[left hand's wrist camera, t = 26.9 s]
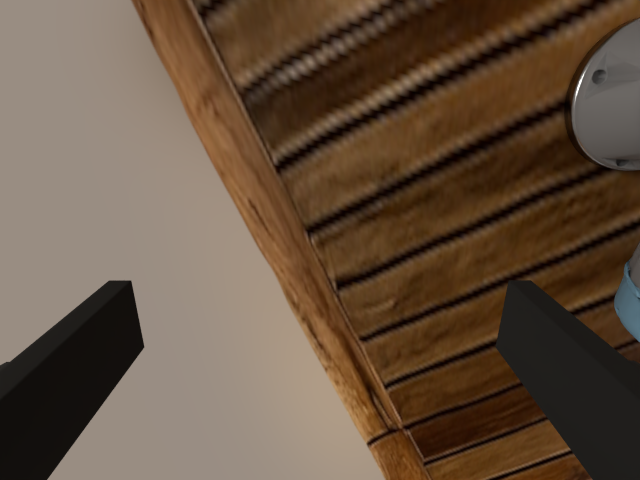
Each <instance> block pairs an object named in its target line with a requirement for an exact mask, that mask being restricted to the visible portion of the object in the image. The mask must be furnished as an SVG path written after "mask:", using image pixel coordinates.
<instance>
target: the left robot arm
mask: <svg viewBox="0 0 640 480" xmlns="http://www.w3.org/2000/svg"><path fill="white" fill-rule="evenodd" d="M565 124H566V129H567V133H568V136H569V138H570V140H571V142H572V144H573V146H574V147H575V148H576V150H577V151H578V152H579V153H580V154H581V155H582V156H583V157H584V158H586V159H587V160H589V161H590V162H592V163H594V164H597V165H599V166H603V167H607V168H612V169H617V170H629V171H631V170H640V17H639V18H636V19H633V20H631V21H628V22H626V23H624V24H622V25H620V26H618V27H617V28H615V29H614V30H612V31H611V32H609V33H608V34H607V35H605V36H604V37H603V38H602V39H601V40H600V41H598V42H597V43H596V44H595V45H594V47H593V48H592V49H591V50H590V51H589V52H588V53H587V55H586V56H585V57H584V59H583V60H582V62H581V63H580V65H579V66H578V68H577V70H576V72H575V74H574V76H573V78H572V81H571V83H570V86H569V89H568V92H567V97H566V102H565ZM614 306H615V310H616V312H617V315H618V316H619V318H620V320H621V322H622V324H623V325H624V327H625V328H626V329H627V330H628V331H629V332H630V333H631V334H632V335H633V336H634V337H635V338H636V339H637V340H638V341H639V342H640V242H639V244H638V246H637V248H636V250H635V252H634V254H633V255H632V257H631V259H630V260H629V261H628V262H627V263H626V264H625V267H624V276H623V279H622V281H621V284H620V286H619V288H618V291H617V293H616V295H615V300H614ZM143 348H144V343H143V338H142V333H141V328H140V323H139V318H138V313H137V308H136V303H135V297H134V293H133V287H132V282H131V281H108V282H107V283H106V284H104V285H103V286H102V287H101V288H100V289H98V290H97V291H96V292H95V293H93V294H92V295H91V296H90V297H89V298H87V299H86V300H85V301H84V302H82V303H81V304H80V305H79V306H78V307H76V308H75V309H74V310H73V311H71V312H70V313H69V314H68V315H67V316H65V317H64V318H63V319H62V320H61V321H59V322H58V323H57V324H56V325H54V326H53V327H52V328H51V329H50V330H48V331H47V332H46V333H45V334H43V335H42V336H41V337H40V338H39V339H37V340H36V341H35V342H34V343H33V344H31V345H30V346H29V347H28V348H26V349H25V350H24V351H23V352H22V353H20V354H19V355H18V356H17V357H15V358H14V359H13V360H12V361H11V362H6V363H4V364H2V365H0V480H47V479H48V478H49V476H50V475H51V474H52V472H53V471H54V470H55V468H56V467H57V465H58V464H59V463H60V461H61V460H62V459H63V457H64V456H65V455H66V453H67V452H68V450H69V449H70V448H71V446H72V445H73V444H74V442H75V441H76V440H77V438H78V437H79V435H80V434H81V433H82V431H83V430H84V429H85V427H86V426H87V425H88V423H89V422H90V420H91V419H92V418H93V416H94V415H95V414H96V412H97V411H98V410H99V408H100V407H101V405H102V404H103V403H104V401H105V400H106V399H107V397H108V396H109V395H110V393H111V392H112V390H113V389H114V388H115V386H116V385H117V384H118V382H119V381H120V380H121V378H122V377H123V375H124V374H125V373H126V371H127V370H128V369H129V367H130V366H131V365H132V363H133V362H134V361H135V359H136V358H137V356H138V355H139V354H140V352H141V351H142V350H143ZM496 348H497V350H498V351H499V352H500V354H501V355H502V356H503V358H504V359H505V361H506V362H507V363H508V365H509V366H510V367H511V369H512V370H513V371H514V373H515V374H516V376H517V377H518V378H519V380H520V381H521V382H522V384H523V385H524V386H525V388H526V389H527V390H528V392H529V393H530V395H531V396H532V397H533V399H534V400H535V401H536V403H537V404H538V405H539V407H540V408H541V410H542V411H543V412H544V414H545V415H546V416H547V418H548V419H549V420H550V422H551V423H552V425H553V426H554V427H555V429H556V430H557V431H558V433H559V434H560V435H561V437H562V438H563V440H564V441H565V442H566V444H567V445H568V446H569V448H570V449H571V450H572V452H573V453H574V455H575V456H576V457H577V459H578V460H579V461H580V463H581V464H582V465H583V467H584V468H585V470H586V471H587V472H588V474H589V475H590V476H591V478H592V479H593V480H640V364H639V363H637V362H635V361H628V360H627V359H626V358H625V357H623V356H622V355H621V354H620V353H619V352H617V351H616V350H615V349H614V348H612V347H611V346H610V345H609V344H608V343H606V342H605V341H604V340H603V339H601V338H600V337H599V336H598V335H597V334H595V333H594V332H593V331H592V330H590V329H589V328H588V327H587V326H586V325H584V324H583V323H582V322H581V321H579V320H578V319H577V318H576V317H575V316H573V315H572V314H571V313H570V312H569V311H567V310H566V309H565V308H564V307H562V306H561V305H560V304H559V303H558V302H556V301H555V300H554V299H553V298H551V297H550V296H549V295H548V294H547V293H545V292H544V291H543V290H542V289H540V288H539V287H538V286H537V285H536V284H534V283H533V282H532V281H509V282H508V287H507V292H506V297H505V302H504V308H503V313H502V318H501V323H500V328H499V333H498V338H497V343H496Z"/></svg>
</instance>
